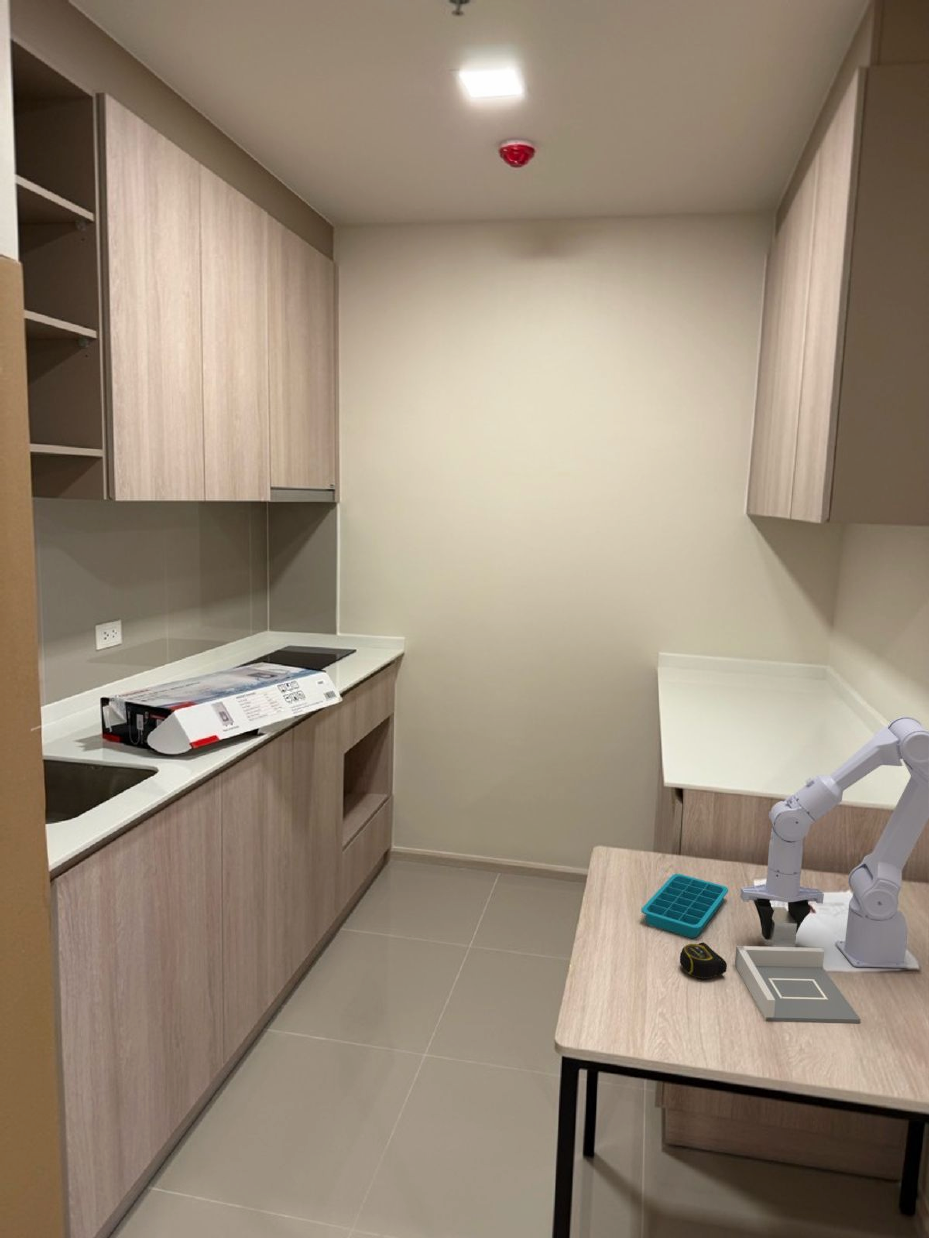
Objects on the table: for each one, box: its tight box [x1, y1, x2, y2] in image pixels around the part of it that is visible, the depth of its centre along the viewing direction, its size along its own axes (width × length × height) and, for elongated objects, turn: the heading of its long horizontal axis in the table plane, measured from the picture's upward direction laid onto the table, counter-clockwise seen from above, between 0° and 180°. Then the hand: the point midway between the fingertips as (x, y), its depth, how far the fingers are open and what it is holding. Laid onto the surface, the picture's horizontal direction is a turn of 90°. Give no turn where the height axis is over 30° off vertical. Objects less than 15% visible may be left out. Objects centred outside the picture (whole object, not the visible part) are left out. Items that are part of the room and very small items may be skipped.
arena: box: [734, 945, 862, 1024], centre depth 145 cm, size 15×16×4 cm
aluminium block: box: [760, 906, 797, 947], centre depth 160 cm, size 4×6×6 cm, turn 0°
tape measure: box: [679, 942, 728, 979], centre depth 151 cm, size 7×7×4 cm
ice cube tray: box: [640, 873, 729, 939], centre depth 172 cm, size 12×20×3 cm, turn 147°
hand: (777, 936), depth 160 cm, fingers closed on aluminium block, 4 cm apart
